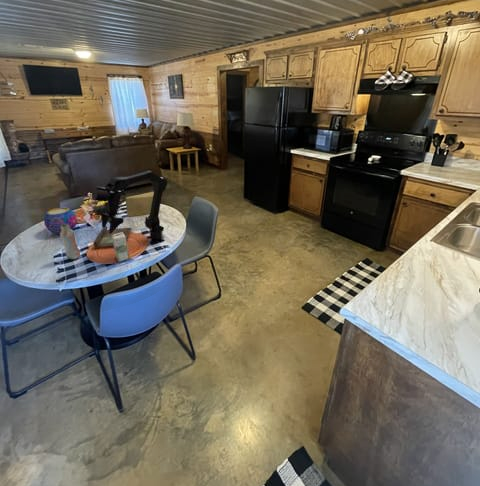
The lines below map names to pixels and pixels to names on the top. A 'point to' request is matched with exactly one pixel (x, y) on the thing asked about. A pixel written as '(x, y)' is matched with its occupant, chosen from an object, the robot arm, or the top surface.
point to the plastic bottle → (69, 242)
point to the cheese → (139, 204)
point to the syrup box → (120, 246)
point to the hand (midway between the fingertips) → (106, 230)
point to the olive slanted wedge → (109, 237)
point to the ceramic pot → (59, 219)
